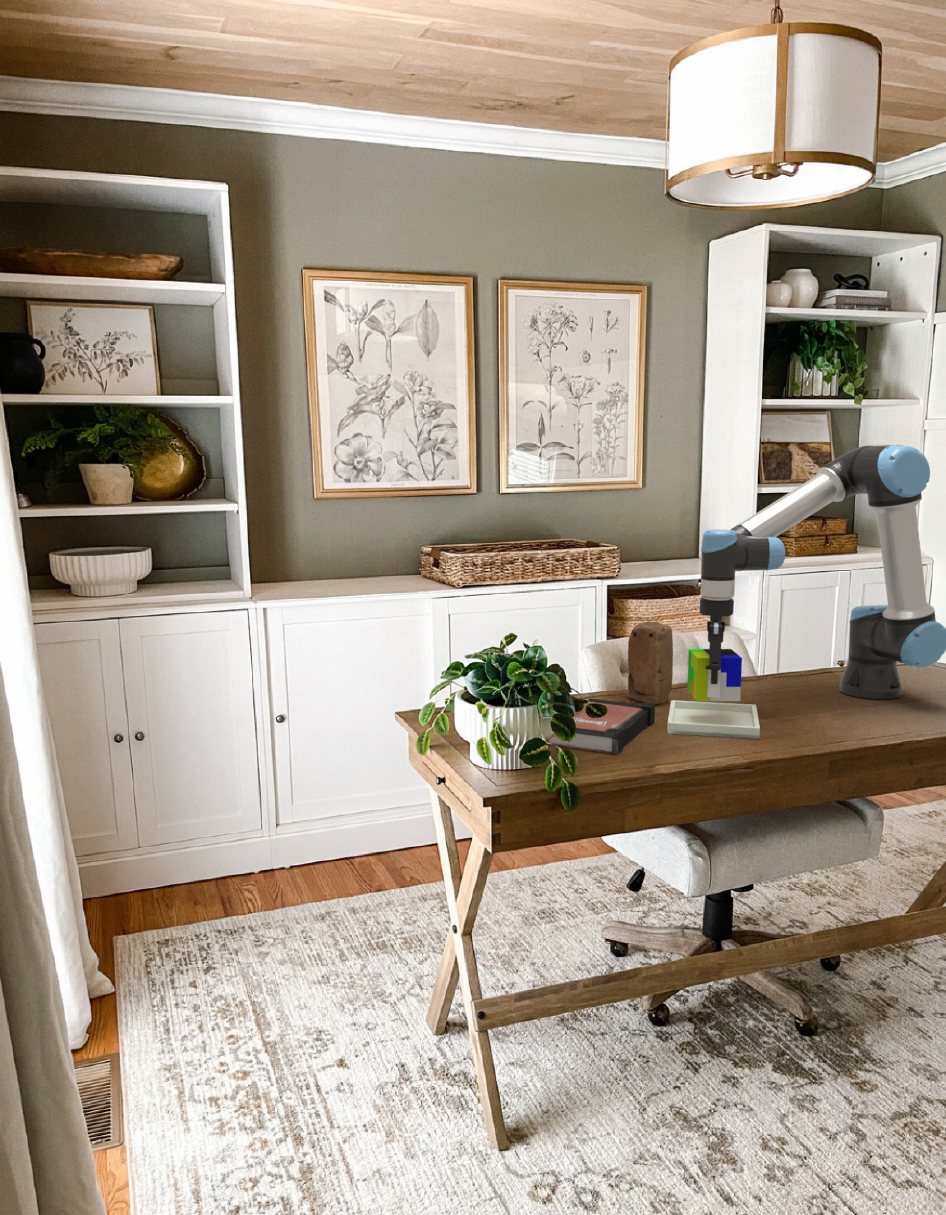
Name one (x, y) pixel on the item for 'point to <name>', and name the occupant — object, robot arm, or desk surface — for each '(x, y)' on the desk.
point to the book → (610, 727)
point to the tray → (713, 719)
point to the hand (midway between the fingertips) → (713, 691)
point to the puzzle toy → (728, 677)
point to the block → (650, 662)
